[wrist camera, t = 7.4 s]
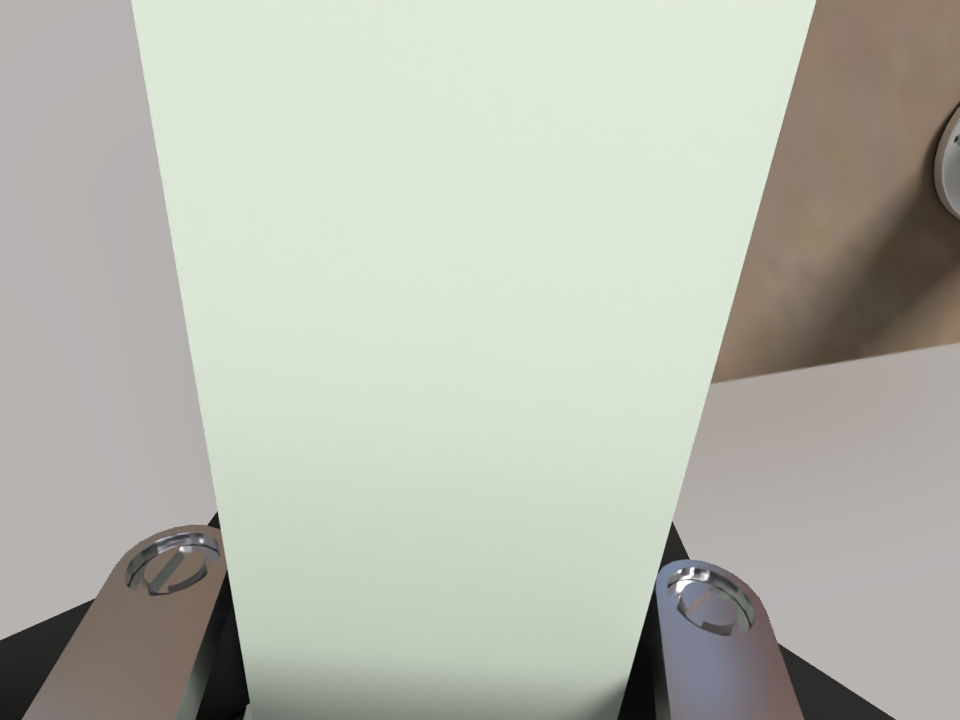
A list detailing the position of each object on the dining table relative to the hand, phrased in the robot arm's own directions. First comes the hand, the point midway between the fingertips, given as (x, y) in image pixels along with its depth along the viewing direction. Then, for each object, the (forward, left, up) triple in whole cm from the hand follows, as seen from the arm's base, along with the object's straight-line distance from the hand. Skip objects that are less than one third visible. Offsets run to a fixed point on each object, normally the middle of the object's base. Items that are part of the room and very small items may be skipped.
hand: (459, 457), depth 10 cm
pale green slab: (0, 0, -15) cm, 15 cm away
